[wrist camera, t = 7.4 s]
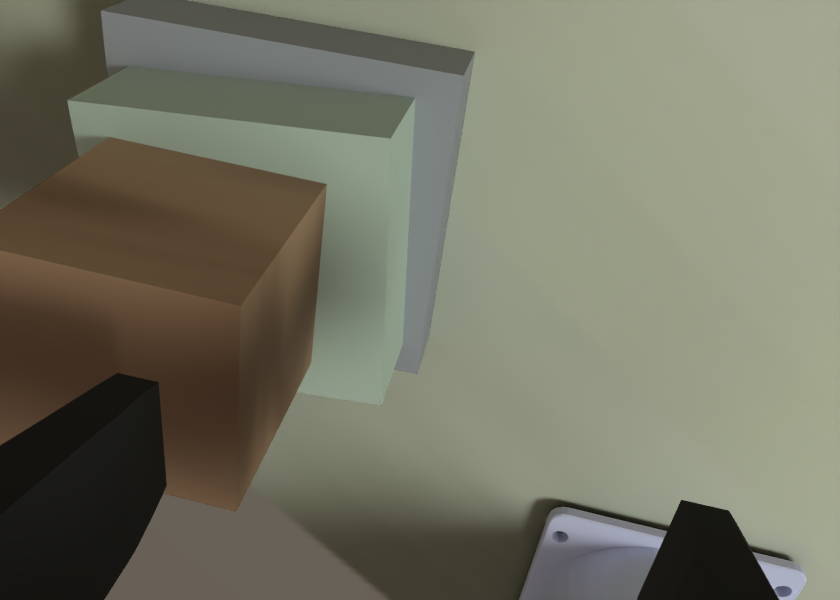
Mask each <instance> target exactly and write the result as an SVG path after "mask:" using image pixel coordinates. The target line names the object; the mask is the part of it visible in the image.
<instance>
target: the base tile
mask: <svg viewBox="0 0 840 600" xmlns="http://www.w3.org/2000/svg"><path fill="white" fill-rule="evenodd" d="M101 19H102V29H103V38H104V48H105V58H106V68H107V78H108V77H110V76H112V75H114V74H116V73H118V72H119V71H121V70H123V69H125V68H127V67H128V66H135V67H144V68H153V69H162V70H171V71H180V72H189V73H198V74H207V75H216V76H225V77H234V78H243V79H252V80H261V81H270V82H279V83H287V84H296V85H305V86H314V87H323V88H332V89H341V90H350V91H359V92H368V93H377V94H386V95H395V96H404V97H413V98H415V113H414V132H413V152H412V171H411V191H410V210H409V230H408V249H407V269H406V288H405V308H404V327H403V345H402V348H401V350H400V353H399V356H398V359H397V362H396V365H395V368H394V369H395V370H400V371H405V372H409V373H414V374H417V373H418V370H419V366H420V363H421V360H422V356H423V353H424V350H425V346H426V343H427V340H428V336H429V333H430V327H431V321H432V314H433V308H434V302H435V296H436V290H437V283H438V277H439V271H440V265H441V259H442V252H443V246H444V240H445V234H446V228H447V222H448V215H449V209H450V203H451V197H452V191H453V184H454V178H455V172H456V166H457V160H458V154H459V147H460V141H461V135H462V129H463V123H464V116H465V110H466V104H467V98H468V92H469V85H470V79H471V73H472V67H473V61H474V55H475V52H473V51H467V50H462V49H456V48H450V47H445V46H439V45H434V44H428V43H422V42H417V41H411V40H405V39H400V38H394V37H389V36H383V35H377V34H372V33H366V32H360V31H355V30H349V29H343V28H338V27H332V26H327V25H321V24H315V23H310V22H304V21H298V20H293V19H287V18H282V17H276V16H270V15H265V14H259V13H253V12H248V11H242V10H237V9H231V8H225V7H220V6H214V5H208V4H203V3H197V2H191V1H186V0H125V1H123V2H120V3H118V4H115V5H113V6H111V7H108V8H106V9H103V10H101Z"/></svg>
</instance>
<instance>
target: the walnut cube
mask: <svg viewBox="0 0 840 600" xmlns="http://www.w3.org/2000/svg"><path fill="white" fill-rule="evenodd" d="M326 189H327V184H324V183H319V182H315V181H310V180H306V179H301V178H297V177H292V176H287V175H283V174H278V173H274V172H269V171H264V170H260V169H255V168H251V167H246V166H241V165H237V164H232V163H228V162H223V161H218V160H214V159H209V158H205V157H200V156H195V155H191V154H186V153H182V152H177V151H172V150H168V149H163V148H159V147H154V146H149V145H145V144H140V143H136V142H131V141H126V140H122V139H117V138H113V137H109V138H107V139H106V140H104V141H103V142H101V143H100V144H98V145H97V146H95V147H94V148H93V149H91V150H90V151H88V152H87V153H85V154H84V155H82V156H81V157H79V158H78V159H76V160H75V161H73V162H72V163H70V164H69V165H67V166H66V167H64V168H63V169H61V170H60V171H58V172H57V173H55V174H54V175H52V176H51V177H49V178H48V179H46V180H45V181H43V182H42V183H40V184H39V185H37V186H36V187H34V188H33V189H31V190H30V191H28V192H27V193H25V194H24V195H22V196H21V197H19V198H18V199H16V200H15V201H14V202H12V203H11V204H9V205H8V206H6V207H5V208H3V209H2V210H0V445H1V444H3V443H5V442H6V441H8V440H10V439H11V438H13V437H15V436H16V435H18V434H19V433H21V432H23V431H24V430H26V429H28V428H29V427H31V426H32V425H34V424H36V423H37V422H39V421H40V420H42V419H44V418H45V417H47V416H48V415H50V414H52V413H53V412H55V411H56V410H58V409H60V408H61V407H63V406H64V405H66V404H68V403H69V402H71V401H72V400H74V399H76V398H77V397H79V396H80V395H82V394H84V393H85V392H87V391H88V390H90V389H92V388H93V387H95V386H96V385H98V384H100V383H101V382H103V381H105V380H106V379H108V378H110V377H111V376H113V375H115V374H116V373H120V374H125V375H129V376H134V377H138V378H143V379H147V380H152V381H156V382H159V393H160V405H161V418H162V431H163V444H164V456H165V469H166V482H167V486H166V489H165V491H164V493H163V494H167V495H171V496H175V497H179V498H183V499H188V500H191V501H195V502H199V503H203V504H207V505H211V506H215V507H219V508H223V509H227V510H231V511H235V512H236V511H237V509H238V507H239V505H240V503H241V501H242V499H243V497H244V495H245V493H246V491H247V489H248V487H249V485H250V483H251V481H252V479H253V477H254V475H255V473H256V471H257V470H258V468H259V466H260V464H261V462H262V460H263V458H264V456H265V454H266V452H267V450H268V448H269V446H270V444H271V442H272V440H273V438H274V436H275V434H276V432H277V430H278V428H279V426H280V424H281V422H282V420H283V418H284V416H285V414H286V412H287V410H288V408H289V406H290V404H291V402H292V400H293V398H294V396H295V394H296V392H297V390H298V388H299V386H300V384H301V382H302V380H303V378H304V376H305V374H306V372H307V370H308V368H309V366H310V364H311V360H312V348H313V337H314V326H315V314H316V303H317V291H318V280H319V269H320V257H321V246H322V235H323V223H324V212H325V200H326Z"/></svg>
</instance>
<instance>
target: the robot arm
mask: <svg viewBox="0 0 840 600" xmlns="http://www.w3.org/2000/svg"><path fill="white" fill-rule="evenodd" d="M166 486H167V482H166V469H165V456H164V444H163V431H162V418H161V405H160V393H159V382H156V381H152V380H147V379H143V378H138V377H134V376H129V375H125V374H120V373H116V374H115V375H113V376H111V377H110V378H108V379H106V380H105V381H103V382H101V383H100V384H98V385H96V386H95V387H93V388H92V389H90V390H88V391H87V392H85V393H84V394H82V395H80V396H79V397H77V398H76V399H74V400H72V401H71V402H69V403H68V404H66V405H64V406H63V407H61V408H60V409H58V410H56V411H55V412H53V413H52V414H50V415H48V416H47V417H45V418H44V419H42V420H40V421H39V422H37V423H36V424H34V425H32V426H31V427H29V428H28V429H26V430H24V431H23V432H21V433H19V434H18V435H16V436H15V437H13V438H11V439H10V440H8V441H6V442H5V443H3V444H1V445H0V600H104V599H105V597H106V596H107V594H108V593H109V591H110V590H111V588H112V587H113V585H114V583H115V582H116V580H117V579H118V577H119V576H120V574H121V573H122V571H123V569H124V568H125V566H126V565H127V563H128V562H129V560H130V558H131V556H132V555H133V554H134V552H135V550H136V548H137V546H138V544H139V542H140V540H141V538H142V536H143V534H144V532H145V530H146V528H147V526H148V524H149V522H150V520H151V518H152V516H153V514H154V512H155V510H156V508H157V506H158V503H159V501H160V499H161V497H162V495H163V493H164V491H165V489H166ZM556 531H563V532H564V533H558V532H556ZM806 581H807V579H806V575H805V572H804V569H803V567H802V566H801V565H800V564H798V563H795V562H792V561H788V560H784V559H780V558H776V557H772V556H767V555H763V554H759V553H755V552H752V550H751V548H750V547H749V545H748V543H747V541H746V539H745V538H744V536H743V534H742V532H741V530H740V529H739V527H738V525H737V523H736V522H735V520H734V518H733V517H732V515H731V513H730V512H729V511H728V510H724V509H719V508H715V507H710V506H706V505H702V504H697V503H693V502H688V501H684V500H681V502H680V504H679V506H678V508H677V511H676V513H675V515H674V517H673V520H672V522H671V524H670V526H669V528H668V531H664V530H660V529H656V528H652V527H647V526H643V525H639V524H635V523H631V522H627V521H623V520H618V519H614V518H610V517H606V516H602V515H598V514H594V513H589V512H585V511H581V510H577V509H573V508H569V507H558V508H555V509H553V510H551V512H550V513H549V515H548V518H547V521H546V523H545V526H544V529H543V532H542V535H541V538H540V541H539V543H538V546H537V549H536V552H535V555H534V558H533V561H532V563H531V566H530V569H529V572H528V575H527V578H526V581H525V583H524V586H523V589H522V592H521V595H520V598H519V600H795V599H796V597H797V596H798V594H799V593H800V591H801V590H802V588H803V587H804V585H805V584H806Z"/></svg>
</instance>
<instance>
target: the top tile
mask: <svg viewBox="0 0 840 600" xmlns="http://www.w3.org/2000/svg"><path fill="white" fill-rule="evenodd" d="M67 103H68V108H69V113H70V118H71V123H72V128H73V133H74V138H75V143H76V148H77V153H78V158H79V157H81V156H82V155H84V154H85V153H87V152H88V151H90V150H91V149H93V148H94V147H95V146H97V145H98V144H100V143H101V142H103V141H104V140H106V139H107V138H109V137H113V138H117V139H122V140H126V141H131V142H136V143H140V144H145V145H149V146H154V147H159V148H163V149H168V150H172V151H177V152H182V153H186V154H191V155H195V156H200V157H205V158H209V159H214V160H218V161H223V162H228V163H232V164H237V165H241V166H246V167H251V168H255V169H260V170H264V171H269V172H274V173H278V174H283V175H287V176H292V177H297V178H301V179H306V180H310V181H315V182H319V183H324V184H327V189H326V200H325V212H324V223H323V235H322V246H321V257H320V269H319V280H318V291H317V303H316V314H315V326H314V337H313V348H312V360H311V364H310V366H309V368H308V370H307V372H306V374H305V376H304V378H303V380H302V382H301V384H300V386H299V388H298V390H297V392H299V393H305V394H311V395H318V396H324V397H330V398H336V399H342V400H348V401H354V402H361V403H367V404H373V405H379V406H381V405H382V402H383V400H384V397H385V394H386V391H387V388H388V385H389V382H390V379H391V376H392V374H393V371H394V368H395V365H396V362H397V359H398V356H399V353H400V350H401V348H402V345H403V327H404V308H405V288H406V269H407V249H408V230H409V210H410V191H411V171H412V152H413V132H414V113H415V98H413V97H404V96H395V95H386V94H377V93H368V92H359V91H350V90H341V89H332V88H323V87H314V86H305V85H296V84H287V83H279V82H270V81H261V80H252V79H243V78H234V77H225V76H216V75H207V74H198V73H189V72H180V71H171V70H162V69H153V68H144V67H135V66H128V67H127V68H125V69H123V70H121V71H119V72H118V73H116V74H114V75H112V76H110V77H108V78H107V79H105V80H103V81H101V82H99V83H98V84H96V85H94V86H92V87H90V88H88V89H87V90H85V91H83V92H81V93H79V94H78V95H76V96H74V97H72V98H70V99H68V100H67Z"/></svg>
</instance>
